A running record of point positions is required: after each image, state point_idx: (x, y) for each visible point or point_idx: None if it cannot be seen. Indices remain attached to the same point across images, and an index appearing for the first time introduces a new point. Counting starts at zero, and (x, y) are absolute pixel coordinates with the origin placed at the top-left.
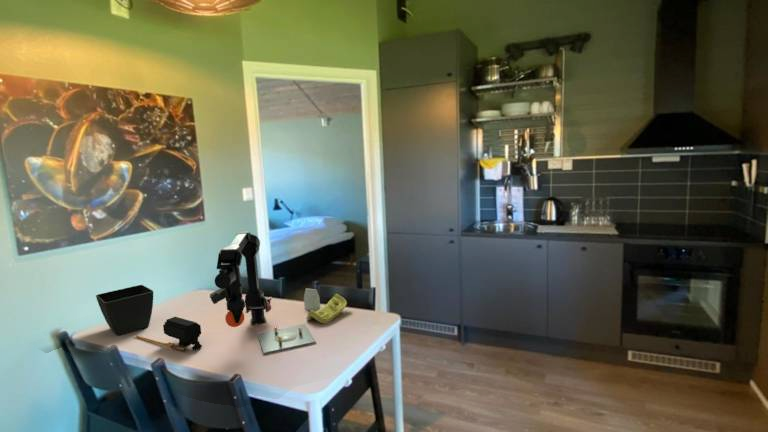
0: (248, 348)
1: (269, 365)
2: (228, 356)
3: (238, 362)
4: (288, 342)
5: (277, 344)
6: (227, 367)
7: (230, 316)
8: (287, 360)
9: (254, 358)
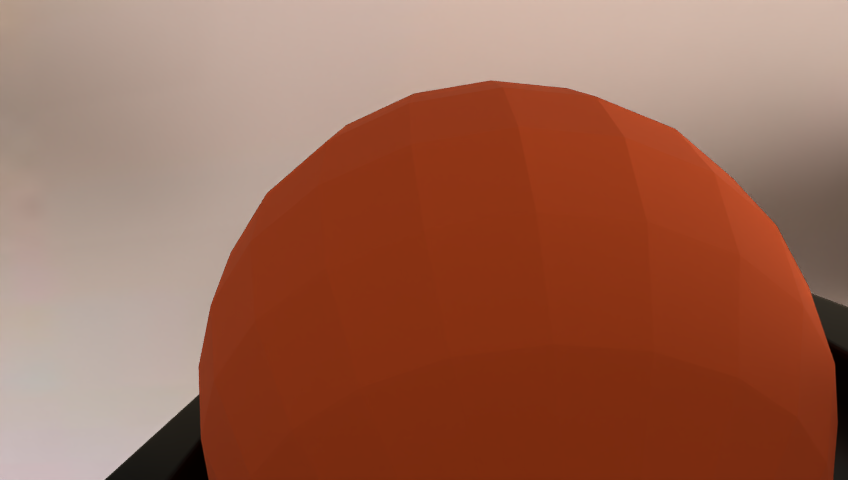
0: None
1: (91, 375)
2: (286, 26)
3: (140, 155)
4: None
5: None
6: (30, 62)
7: (201, 412)
8: None
9: (212, 275)
